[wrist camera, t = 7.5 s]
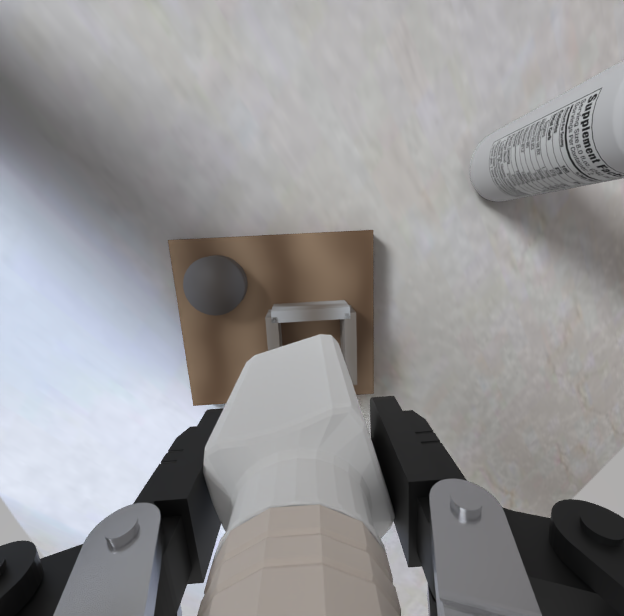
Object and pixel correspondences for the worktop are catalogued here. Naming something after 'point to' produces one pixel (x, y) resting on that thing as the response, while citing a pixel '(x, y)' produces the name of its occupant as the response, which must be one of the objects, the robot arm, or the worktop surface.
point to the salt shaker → (297, 493)
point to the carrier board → (272, 302)
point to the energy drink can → (557, 143)
